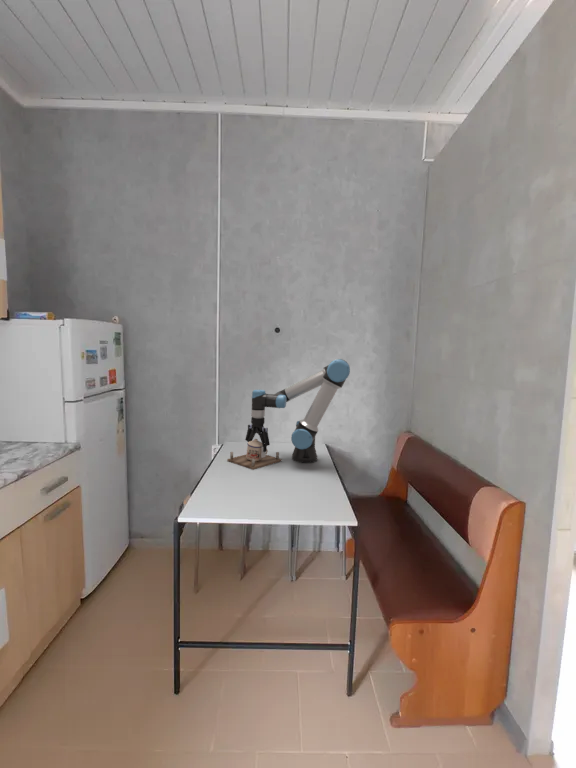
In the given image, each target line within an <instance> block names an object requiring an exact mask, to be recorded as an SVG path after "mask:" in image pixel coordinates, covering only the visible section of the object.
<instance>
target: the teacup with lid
mask: <svg viewBox="0 0 576 768" xmlns="http://www.w3.org/2000/svg"><path fill="white" fill-rule="evenodd" d="M262 446H263V445H262V442H261V441H259V440H258V439H257V438H253V440H252V441H249V442H248V441H247V448H246V453H245V455H246V458H247V459H248V460H251V461H252V459H255V461H259V460H261V450H262ZM267 454H268V449H267V450H266V455H267Z"/></svg>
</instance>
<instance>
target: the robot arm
mask: <svg viewBox="0 0 576 768" xmlns="http://www.w3.org/2000/svg"><path fill="white" fill-rule="evenodd" d="M350 373H351V368H350V365H349V363H348V362H347V361H346V360H345V359H342V358H337V359H336V358H335V359H334V360H332V361H331V362H330V363H328V365H326V366H325V367H323V369H322V370H320V371H318V372H315V373H314V374H312V375H310V376H307V377H306V378H304V379H302V380H300V381H298V382H295V383H293V384H292V385H290V386H288V387H286V388H284V389H281V390H279V391H278V392H276V393H274V394H273V393H266V390H265V389H253V391H252V393H251V413H250V414H251V418H250V419H251V420H250V423H251V424H248V425H247V430H246V431H247V432H246V435H245V439H244V440H245V441H247V443H248V442H249V441H253V440H254V439H255V435H256V434H258V436H259V440H260V442H261V443H262V445H263V446H262V450H261V458H263V457H266V455H267V454H266V450H268V448H267V446H268V447H269V446H270V445H271V444H270V437H269V433H268V431H269V430H268V427H265V426H264V424H265V421H266V420H265V416H266V414H265V413H266V412H265V410H266V408H274V409H275V408H276V409H285V408H286V407H287V403H288V402H289V401H291V400H292V401H293V400H294V399H296V398H298V397H301V396H302V395H305V394H306V393H308V392H311V391H312V390H315V389H316V388H319V387H320V388H319V390H318V392H317V393H316V395H315V397H314V399H313V401H312V403H311V405H310V406H309V408H308V411H307V412H306V415H304V417H303V419H301V420H297V421H296V424H295V429H294V430H293V432H292V434H291V442H292V445H293V446H294V449H293V452H292V453H291V459H292V461H294V462H298V463H305V464H308V463H314V462H317V461H318V454H317V450H316V436H317V434H318V432H319V427H318V426H319V425H320V423H321V421H322V418H323V417H324V416H325V413H326V412H327V410H328V407H329V406H330V404H331V402H332V400H333V398H334V396H335V395H336V393H337V391H338V389H341V388H342V387H343V386H344V383H345V382H346V381H347V379H348V378H349V376H350Z"/></svg>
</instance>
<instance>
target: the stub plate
mask: <svg viewBox="0 0 576 768" xmlns="http://www.w3.org/2000/svg"><path fill="white" fill-rule="evenodd" d="M275 453H276V455H275V457H274V456H271V455H267V454H266V457H263V458H261V460H259V461H255V459H252V461H251V460H248V459H247V458H246V454H241V455H239V456H235V457H234V452H233V451H230V456H229V457H230V458H227V460H226V461H227V462H229V463H232V464H235V465H238V466H240V467H244V468H246V469H250V470H252V471H253V470H257V469H260V468H263V467H267V466H271V465H274V464H276V463H277V464H278V463H280V461H281V462H282V461H283V460H282V459H281V458H280V452H279V451H277V452H275ZM273 463H274V464H273Z"/></svg>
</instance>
